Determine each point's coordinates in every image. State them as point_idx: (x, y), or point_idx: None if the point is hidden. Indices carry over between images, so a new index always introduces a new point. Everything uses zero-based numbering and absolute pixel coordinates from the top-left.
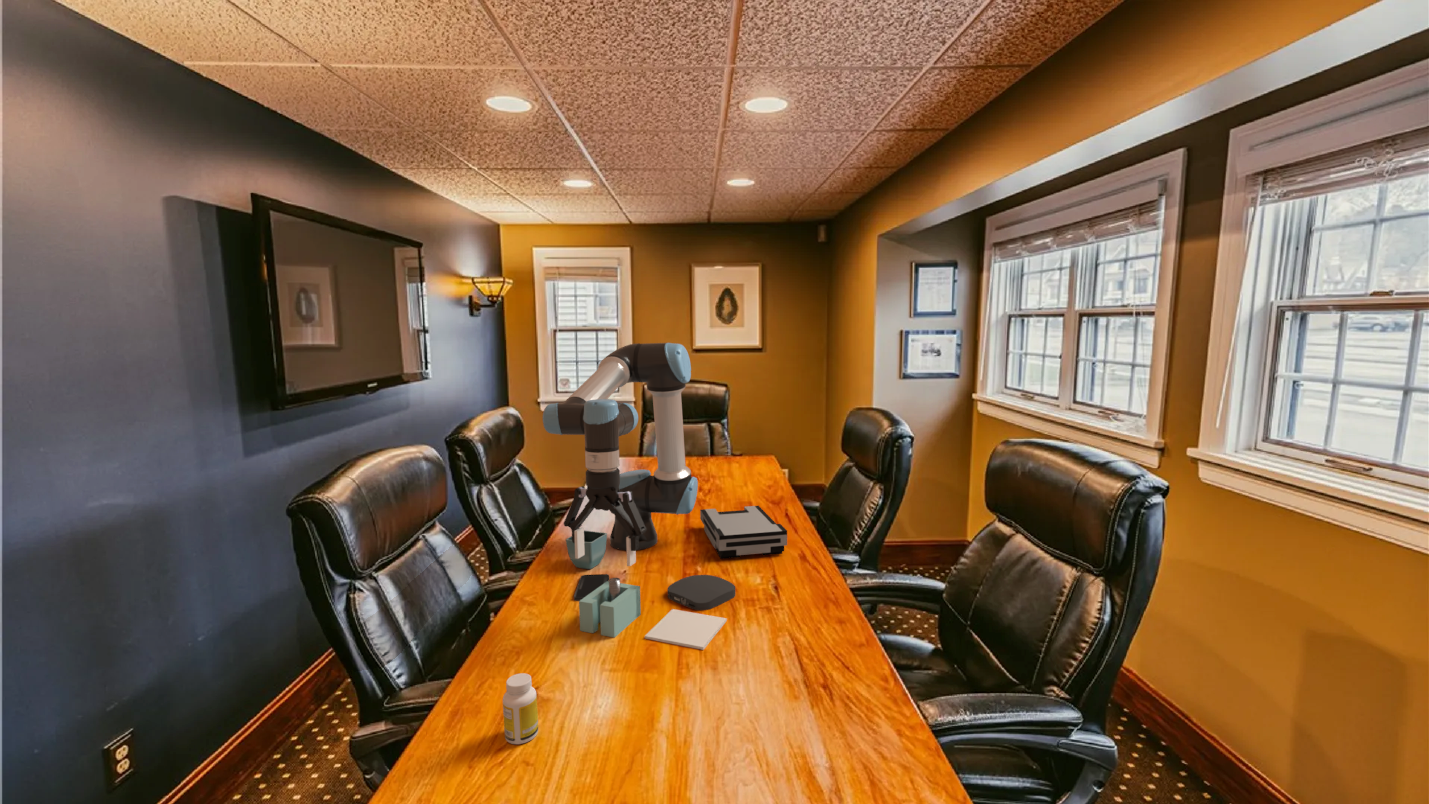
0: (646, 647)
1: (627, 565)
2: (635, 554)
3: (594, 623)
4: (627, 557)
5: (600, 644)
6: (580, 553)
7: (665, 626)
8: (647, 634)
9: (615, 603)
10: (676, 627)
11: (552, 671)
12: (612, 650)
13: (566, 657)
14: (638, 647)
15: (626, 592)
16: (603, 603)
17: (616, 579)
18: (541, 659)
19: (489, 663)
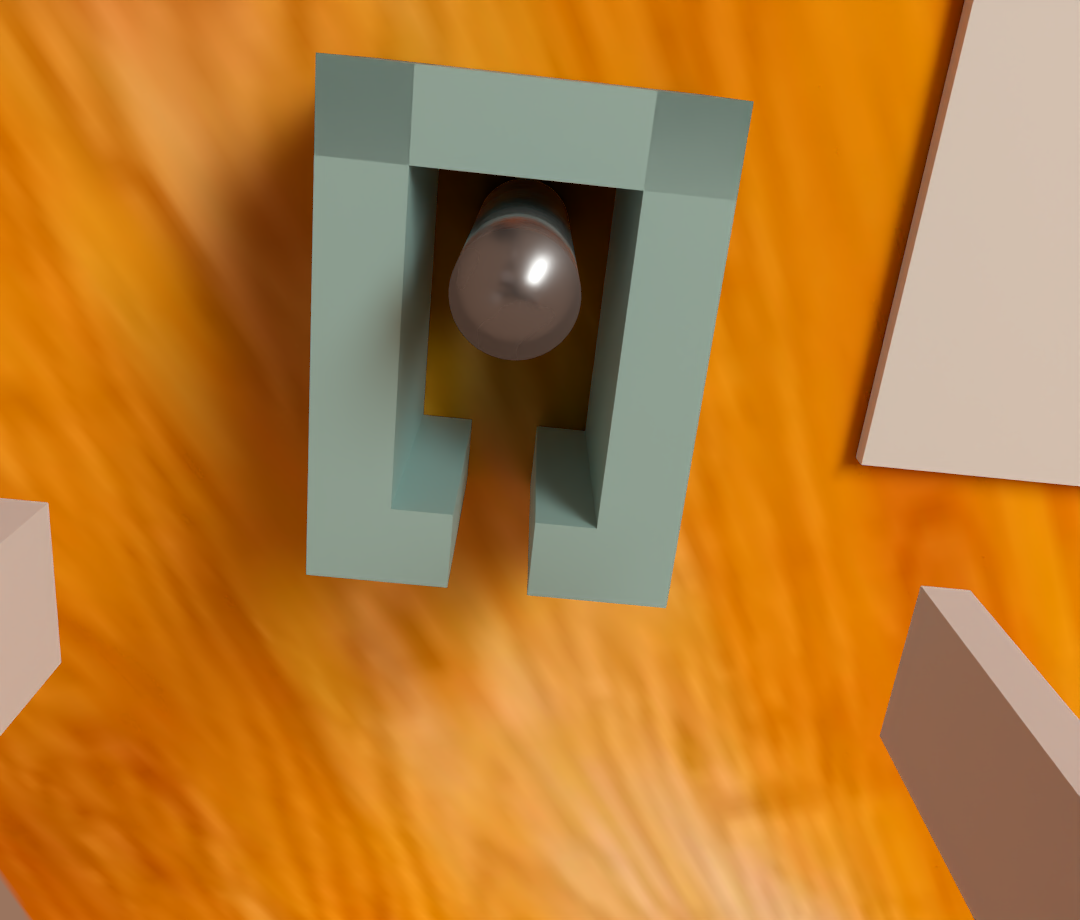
0: (897, 555)
1: (889, 738)
2: (1025, 668)
3: (463, 487)
4: (935, 820)
5: None
6: (28, 636)
7: (985, 297)
8: (876, 443)
9: (652, 540)
10: (1076, 290)
11: (458, 874)
12: (690, 634)
13: (455, 755)
14: (844, 567)
15: (664, 298)
16: (544, 563)
17: (532, 278)
18: (328, 800)
19: (84, 886)
